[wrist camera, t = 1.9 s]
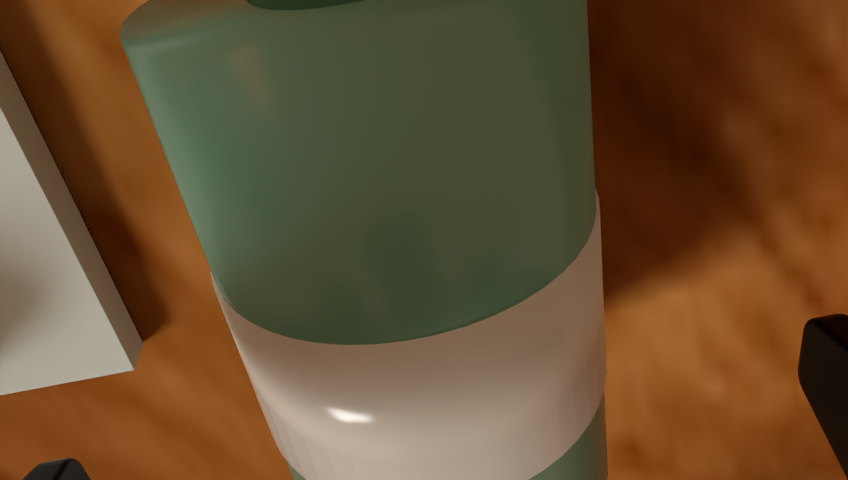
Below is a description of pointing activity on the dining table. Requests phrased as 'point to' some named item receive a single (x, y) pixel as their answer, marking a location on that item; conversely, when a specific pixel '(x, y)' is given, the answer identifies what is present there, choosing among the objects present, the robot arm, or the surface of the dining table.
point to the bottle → (395, 224)
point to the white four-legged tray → (50, 269)
